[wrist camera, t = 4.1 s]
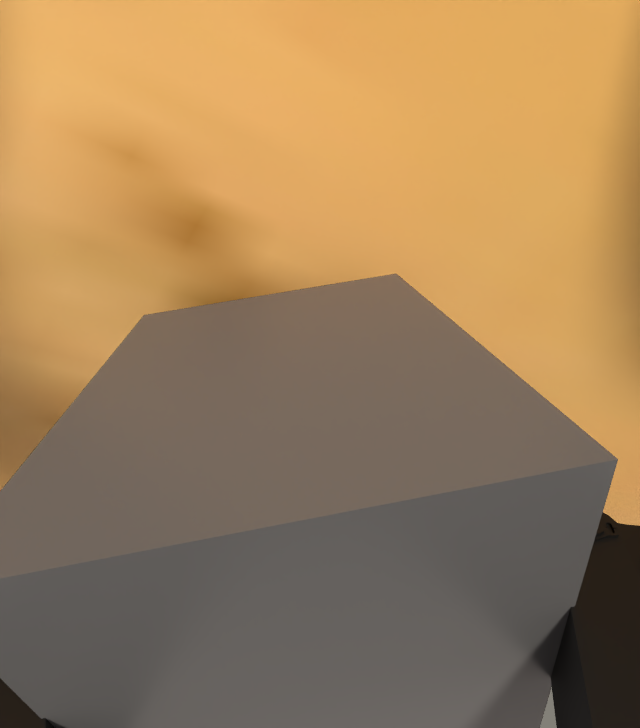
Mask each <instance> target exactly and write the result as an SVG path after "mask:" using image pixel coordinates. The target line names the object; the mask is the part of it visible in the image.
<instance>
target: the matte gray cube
mask: <svg viewBox="0 0 640 728" xmlns="http://www.w3.org/2000/svg"><path fill="white" fill-rule="evenodd" d="M617 461H618V459H617V458H616V457H615V456H613V455H612V454H611V453H610V452H609V451H607V450H606V449H605V448H604V447H603V446H601V445H600V444H599V443H598V442H597V441H596V440H594V439H593V438H592V437H591V436H590V435H588V434H587V433H586V432H585V431H584V430H582V429H581V428H580V427H579V426H578V425H576V424H575V423H574V422H573V421H572V420H570V419H569V418H568V417H567V416H566V415H564V414H563V413H562V412H561V411H560V410H558V409H557V408H556V407H555V406H554V405H553V404H551V403H550V402H549V401H548V400H547V399H545V398H544V397H543V396H542V395H541V394H539V393H538V392H537V391H536V390H535V389H533V388H532V387H531V386H530V385H529V384H527V383H526V382H525V381H524V380H523V379H521V378H520V377H519V376H518V375H517V374H516V373H514V372H513V371H512V370H511V369H510V368H508V367H507V366H506V365H505V364H504V363H502V362H501V361H500V360H499V359H498V358H496V357H495V356H494V355H493V354H492V353H490V352H489V351H488V350H487V349H486V348H484V347H483V346H482V345H481V344H480V343H479V342H477V341H476V340H475V339H474V338H473V337H471V336H470V335H469V334H468V333H467V332H465V331H464V330H463V329H462V328H461V327H459V326H458V325H457V324H456V323H455V322H453V321H452V320H451V319H450V318H449V317H447V316H446V315H445V314H444V313H443V312H442V311H440V310H439V309H438V308H437V307H436V306H434V305H433V304H432V303H431V302H430V301H428V300H427V299H426V298H425V297H424V296H422V295H421V294H420V293H419V292H418V291H416V290H415V289H414V288H413V287H412V286H410V285H409V284H408V283H407V282H406V281H404V280H403V279H402V278H401V277H400V276H399V275H397V274H391V275H385V276H379V277H373V278H367V279H361V280H355V281H349V282H342V283H336V284H330V285H324V286H318V287H312V288H306V289H300V290H294V291H288V292H282V293H276V294H270V295H263V296H257V297H251V298H245V299H239V300H233V301H227V302H221V303H215V304H209V305H203V306H197V307H191V308H184V309H178V310H172V311H166V312H160V313H154V314H148V315H144V316H143V317H142V318H141V319H140V321H139V322H138V323H137V324H136V326H135V327H134V328H133V329H132V330H131V332H130V333H129V334H128V335H127V337H126V338H125V339H124V340H123V341H122V343H121V344H120V345H119V346H118V348H117V349H116V350H115V351H114V352H113V354H112V355H111V356H110V357H109V359H108V360H107V361H106V362H105V364H104V365H103V366H102V367H101V368H100V370H99V371H98V372H97V373H96V375H95V376H94V377H93V378H92V379H91V381H90V382H89V383H88V384H87V386H86V387H85V388H84V389H83V390H82V392H81V393H80V394H79V395H78V397H77V398H76V399H75V400H74V402H73V403H72V404H71V405H70V406H69V408H68V409H67V410H66V411H65V413H64V414H63V415H62V416H61V417H60V419H59V420H58V421H57V422H56V424H55V425H54V426H53V427H52V428H51V430H50V431H49V432H48V433H47V435H46V436H45V437H44V438H43V440H42V441H41V442H40V443H39V444H38V446H37V447H36V448H35V449H34V451H33V452H32V453H31V454H30V455H29V457H28V458H27V459H26V460H25V462H24V463H23V464H22V465H21V466H20V468H19V469H18V470H17V471H16V473H15V474H14V475H13V476H12V477H11V479H10V480H9V481H8V482H7V484H6V485H5V486H4V487H3V489H2V490H1V491H0V678H1V679H2V680H3V681H4V682H5V683H6V684H7V685H8V686H9V687H10V688H11V689H12V690H13V691H14V692H15V693H16V694H17V695H18V696H19V697H20V698H21V699H22V700H23V701H24V702H25V703H26V704H27V705H28V706H29V707H30V708H31V709H32V710H33V711H34V712H35V713H36V714H37V715H38V716H39V717H40V718H41V719H43V718H46V719H47V720H48V721H49V722H50V723H51V724H52V725H53V726H54V727H55V728H540V724H541V721H542V718H543V714H544V711H545V707H546V704H547V701H548V697H549V694H550V690H551V687H552V684H551V675H552V671H553V668H554V664H555V661H556V657H557V654H558V650H559V647H560V643H561V640H562V636H563V633H564V629H565V626H566V622H567V619H568V615H569V612H570V608H571V607H574V606H575V605H576V601H577V598H578V594H579V591H580V588H581V584H582V581H583V577H584V574H585V570H586V567H587V564H588V560H589V557H590V553H591V550H592V546H593V543H594V540H595V536H596V533H597V529H598V526H599V522H600V519H601V516H602V512H603V509H604V505H605V502H606V499H607V495H608V492H609V488H610V485H611V481H612V478H613V475H614V471H615V468H616V464H617Z"/></svg>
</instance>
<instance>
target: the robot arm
mask: <svg viewBox="0 0 640 728" xmlns="http://www.w3.org/2000/svg"><path fill="white" fill-rule="evenodd" d="M551 684H552V692H553V700H554V708H555V716H556V725H557V728H640V526H635V525H625V524H619V523H617V522H615V521H614V520H613V519H612V518H611V517H610V516H609V515H607V514H605V513H603V512H602V516H601V519H600V522H599V526H598V529H597V533H596V536H595V540H594V543H593V546H592V550H591V553H590V557H589V560H588V564H587V567H586V570H585V574H584V577H583V581H582V584H581V588H580V591H579V594H578V598H577V601H576V605H575V606H574V607H571V608H570V612H569V615H568V619H567V622H566V626H565V629H564V633H563V636H562V640H561V643H560V647H559V650H558V654H557V657H556V661H555V664H554V668H553V671H552V675H551ZM0 728H55V727H54V726H53V725H52V724H51V723H50V722H49V721H48V720H47V719H46V718H43V719H41V718H40V717H39V716H38V715H37V714H36V713H35V712H34V711H33V710H32V709H31V708H30V707H29V706H28V705H27V704H26V703H25V702H24V701H23V700H22V699H21V698H20V697H19V696H18V695H17V694H16V693H15V692H14V691H13V690H12V689H11V688H10V687H9V686H8V685H7V684H6V683H5V682H4V681H3V680H2V679H1V678H0Z"/></svg>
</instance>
